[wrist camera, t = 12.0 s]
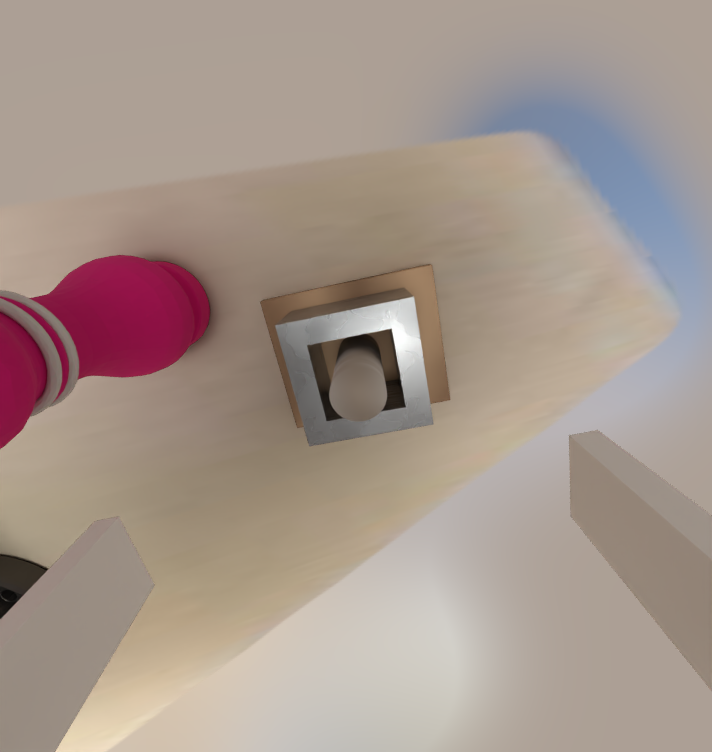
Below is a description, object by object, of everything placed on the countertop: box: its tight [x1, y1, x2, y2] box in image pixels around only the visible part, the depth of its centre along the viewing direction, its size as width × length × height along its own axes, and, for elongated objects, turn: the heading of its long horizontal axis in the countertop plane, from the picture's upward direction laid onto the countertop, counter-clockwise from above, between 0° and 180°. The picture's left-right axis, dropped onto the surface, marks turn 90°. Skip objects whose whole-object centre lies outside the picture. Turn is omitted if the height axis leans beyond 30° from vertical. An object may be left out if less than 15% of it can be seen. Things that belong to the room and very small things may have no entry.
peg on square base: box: [260, 264, 450, 428], centre depth 23 cm, size 12×10×9 cm
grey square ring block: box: [275, 287, 433, 446], centre depth 24 cm, size 8×8×5 cm
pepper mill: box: [0, 255, 210, 449], centre depth 17 cm, size 7×7×20 cm
